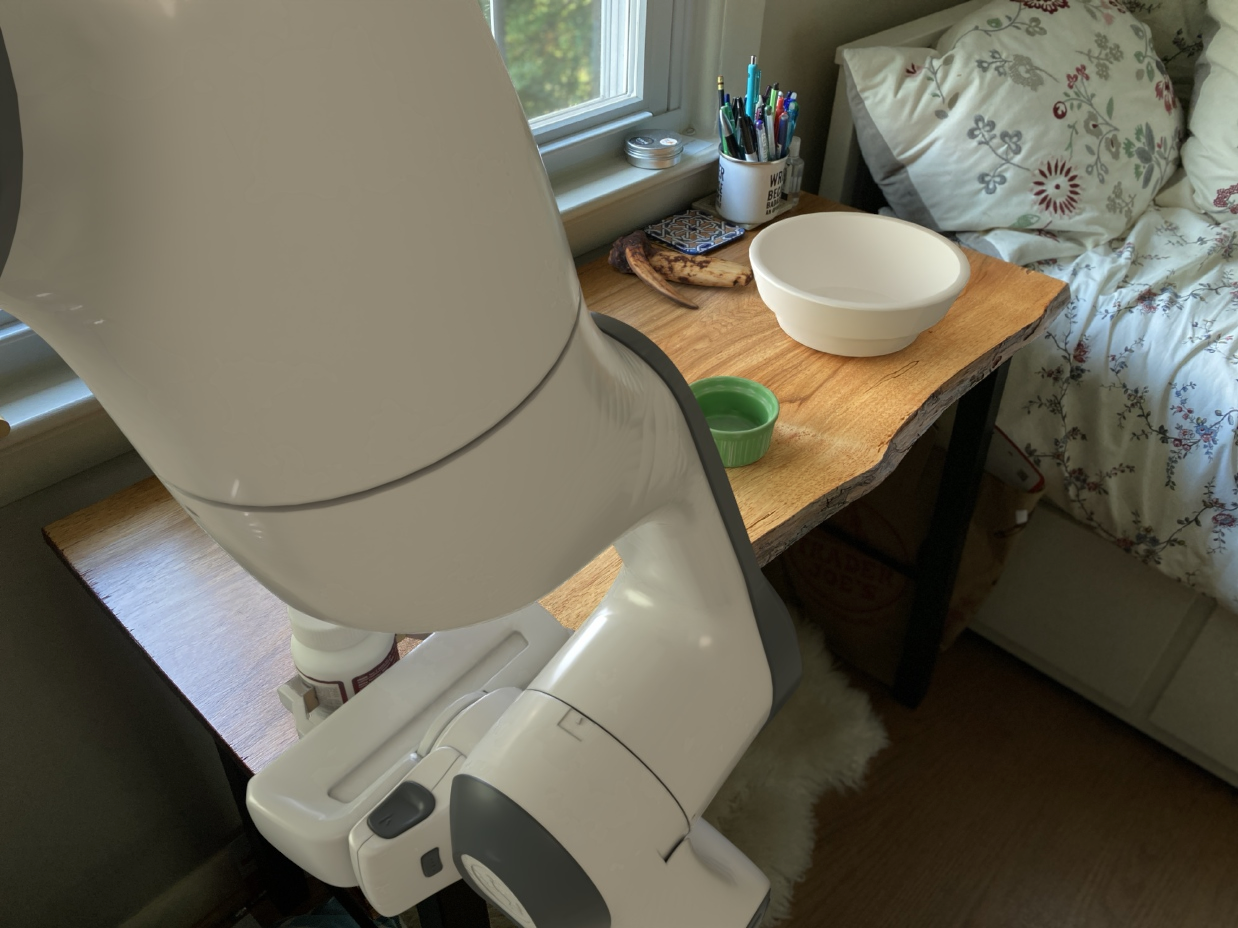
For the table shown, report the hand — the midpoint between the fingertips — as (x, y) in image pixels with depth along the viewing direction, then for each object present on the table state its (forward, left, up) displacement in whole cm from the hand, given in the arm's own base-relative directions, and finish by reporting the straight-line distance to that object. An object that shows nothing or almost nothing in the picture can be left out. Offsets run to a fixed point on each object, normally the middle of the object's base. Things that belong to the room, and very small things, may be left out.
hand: (338, 650), depth 58 cm
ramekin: (+40, +2, -6) cm, 41 cm away
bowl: (+66, +7, -6) cm, 66 cm away
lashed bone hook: (+59, +26, -6) cm, 65 cm away
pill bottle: (0, -1, -6) cm, 6 cm away
